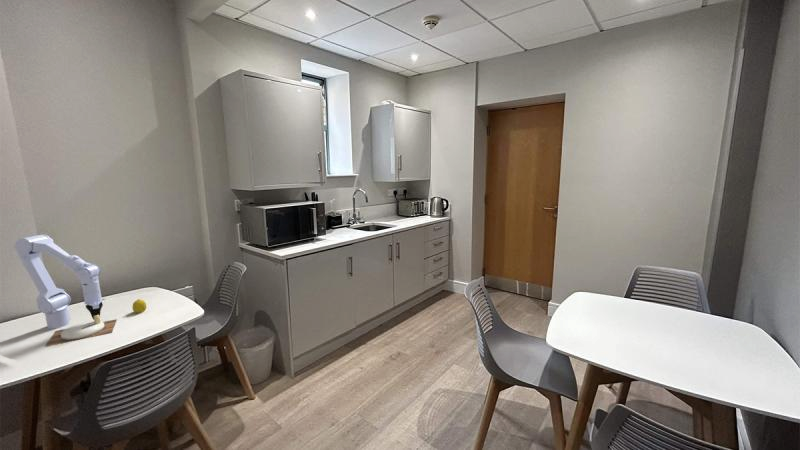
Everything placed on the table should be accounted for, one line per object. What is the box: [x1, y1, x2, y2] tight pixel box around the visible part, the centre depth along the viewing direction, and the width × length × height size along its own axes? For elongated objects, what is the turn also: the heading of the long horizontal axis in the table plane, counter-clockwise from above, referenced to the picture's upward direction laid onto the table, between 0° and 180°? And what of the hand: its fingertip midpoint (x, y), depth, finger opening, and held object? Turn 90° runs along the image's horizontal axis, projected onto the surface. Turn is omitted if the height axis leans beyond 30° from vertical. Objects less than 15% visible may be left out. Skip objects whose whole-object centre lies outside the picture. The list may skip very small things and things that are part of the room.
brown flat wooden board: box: [44, 318, 118, 348], centre depth 146 cm, size 16×21×2 cm
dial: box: [61, 315, 105, 340], centre depth 145 cm, size 14×14×5 cm
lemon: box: [132, 298, 147, 314], centre depth 166 cm, size 6×6×8 cm
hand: (96, 318), depth 152 cm, fingers closed
